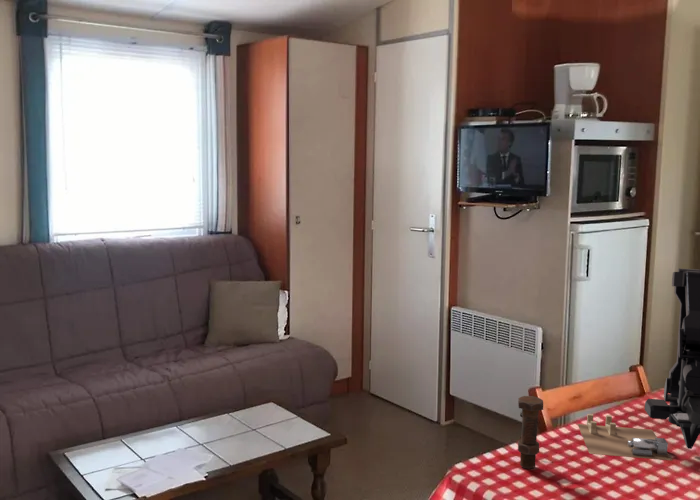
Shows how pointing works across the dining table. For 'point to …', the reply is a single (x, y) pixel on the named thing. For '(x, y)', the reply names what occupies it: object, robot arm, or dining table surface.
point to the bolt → (529, 430)
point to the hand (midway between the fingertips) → (689, 448)
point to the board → (617, 441)
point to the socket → (641, 452)
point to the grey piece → (650, 445)
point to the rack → (609, 425)
